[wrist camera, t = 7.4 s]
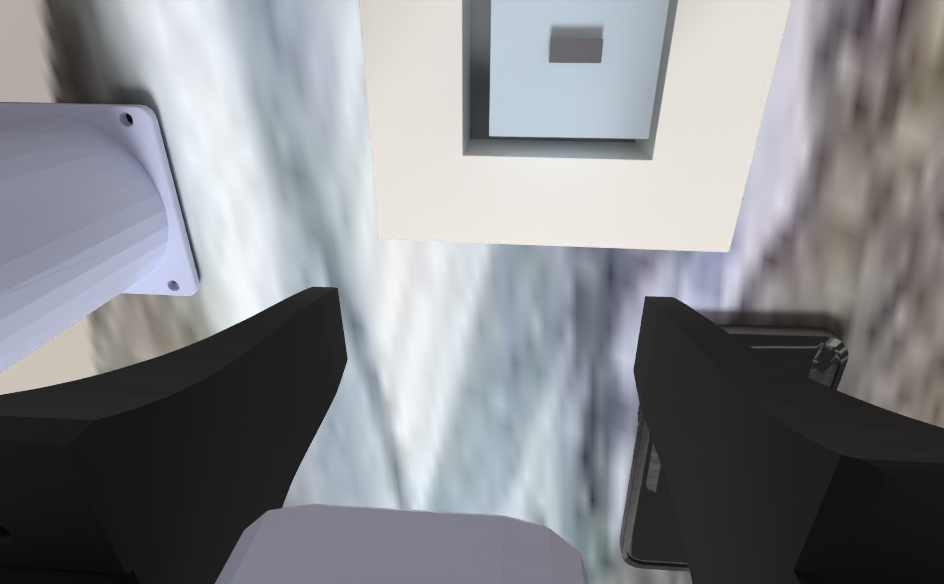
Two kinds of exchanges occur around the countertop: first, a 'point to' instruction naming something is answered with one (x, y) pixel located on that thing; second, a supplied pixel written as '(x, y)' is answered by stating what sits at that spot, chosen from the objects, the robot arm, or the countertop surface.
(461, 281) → the countertop surface
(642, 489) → the phone
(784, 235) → the countertop surface
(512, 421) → the countertop surface
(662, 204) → the block
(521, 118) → the block
